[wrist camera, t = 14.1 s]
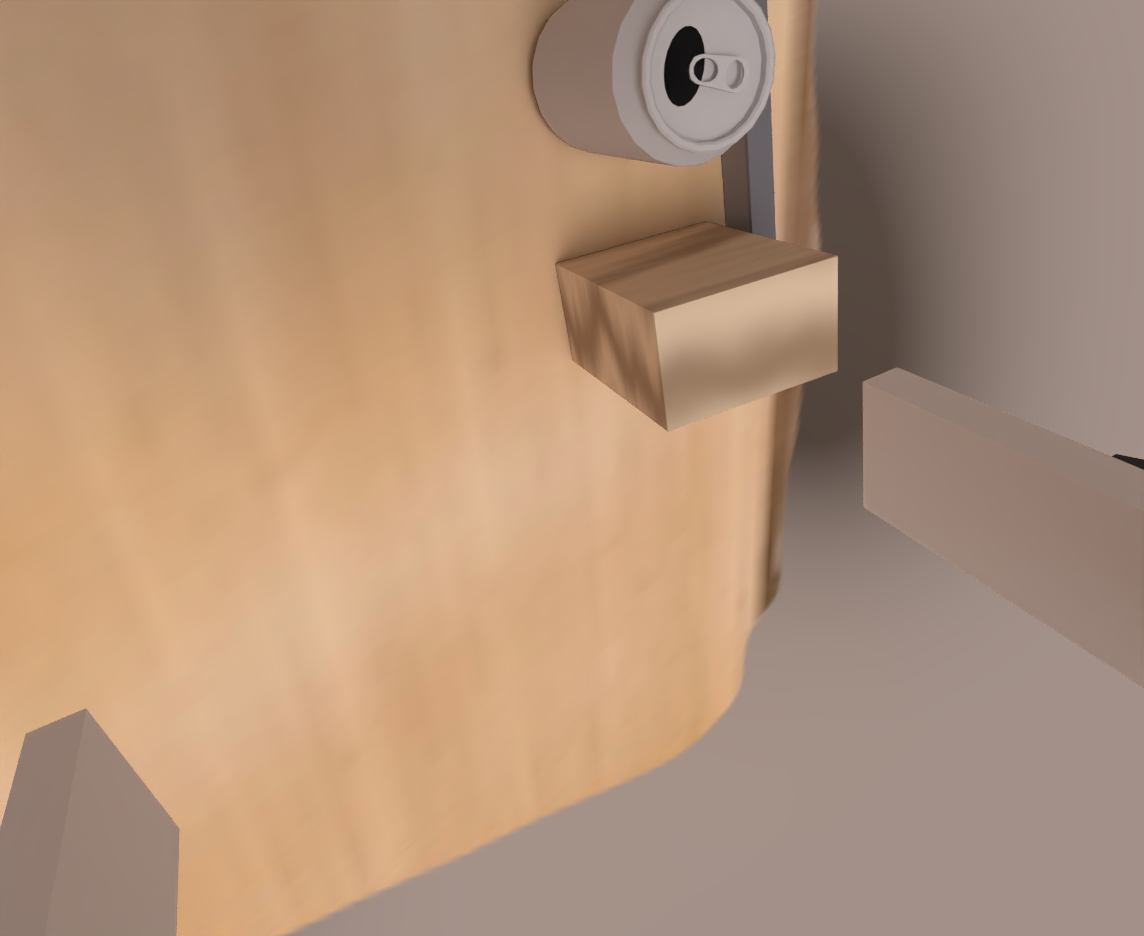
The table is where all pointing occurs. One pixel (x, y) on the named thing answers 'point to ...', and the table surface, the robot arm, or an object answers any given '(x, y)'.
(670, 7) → the can
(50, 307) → the table surface
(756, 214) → the rail
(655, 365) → the kraft box
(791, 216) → the table surface
